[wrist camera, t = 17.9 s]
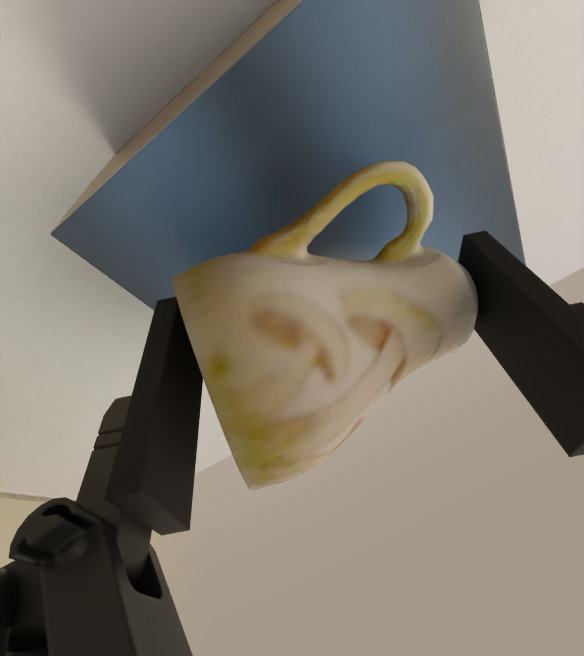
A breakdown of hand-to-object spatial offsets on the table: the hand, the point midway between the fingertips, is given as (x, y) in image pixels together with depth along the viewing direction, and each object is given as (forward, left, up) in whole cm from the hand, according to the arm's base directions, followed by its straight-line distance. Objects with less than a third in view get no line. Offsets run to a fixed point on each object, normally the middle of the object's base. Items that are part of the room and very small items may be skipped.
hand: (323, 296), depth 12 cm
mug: (0, 0, -1) cm, 1 cm away
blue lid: (0, 0, -3) cm, 3 cm away
